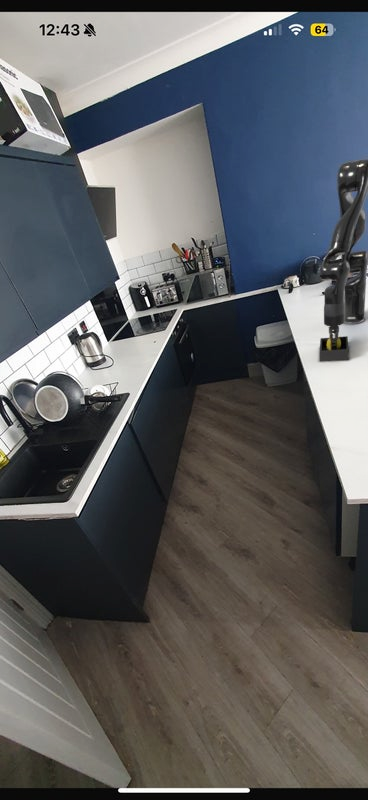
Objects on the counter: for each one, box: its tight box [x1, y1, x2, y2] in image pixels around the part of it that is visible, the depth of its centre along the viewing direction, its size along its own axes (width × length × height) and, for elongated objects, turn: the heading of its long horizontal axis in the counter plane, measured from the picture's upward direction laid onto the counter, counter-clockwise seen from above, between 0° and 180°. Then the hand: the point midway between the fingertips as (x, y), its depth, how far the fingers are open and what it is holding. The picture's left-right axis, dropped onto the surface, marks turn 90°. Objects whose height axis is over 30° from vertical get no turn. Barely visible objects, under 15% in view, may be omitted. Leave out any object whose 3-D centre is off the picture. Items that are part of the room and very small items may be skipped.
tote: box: [319, 335, 350, 362], centre depth 134 cm, size 13×11×5 cm
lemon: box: [327, 336, 341, 350], centre depth 133 cm, size 6×6×8 cm
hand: (333, 349), depth 135 cm, fingers closed on lemon, 5 cm apart
